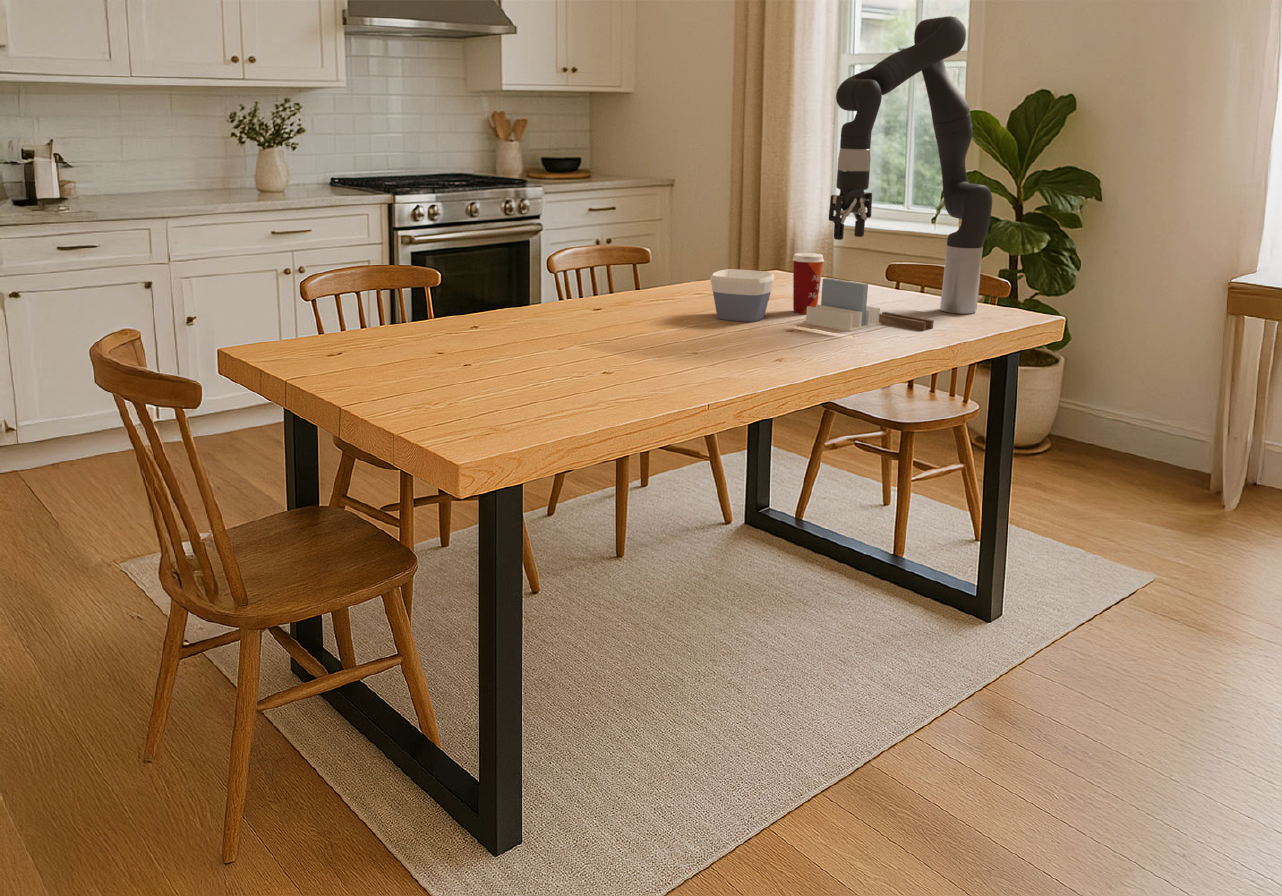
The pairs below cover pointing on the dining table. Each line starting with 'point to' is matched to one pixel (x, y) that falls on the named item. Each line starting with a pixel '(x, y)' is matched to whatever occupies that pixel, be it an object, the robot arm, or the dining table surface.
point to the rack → (841, 317)
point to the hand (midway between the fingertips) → (848, 238)
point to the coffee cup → (806, 280)
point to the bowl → (741, 294)
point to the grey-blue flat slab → (845, 295)
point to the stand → (905, 321)
